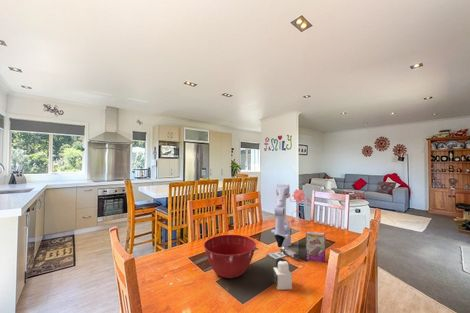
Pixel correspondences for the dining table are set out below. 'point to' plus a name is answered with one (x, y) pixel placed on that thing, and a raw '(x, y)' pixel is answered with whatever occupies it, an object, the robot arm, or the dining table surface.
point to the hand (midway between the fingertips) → (280, 246)
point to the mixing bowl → (229, 254)
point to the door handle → (290, 252)
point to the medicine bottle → (282, 275)
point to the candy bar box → (315, 246)
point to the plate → (274, 258)
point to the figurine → (298, 196)
